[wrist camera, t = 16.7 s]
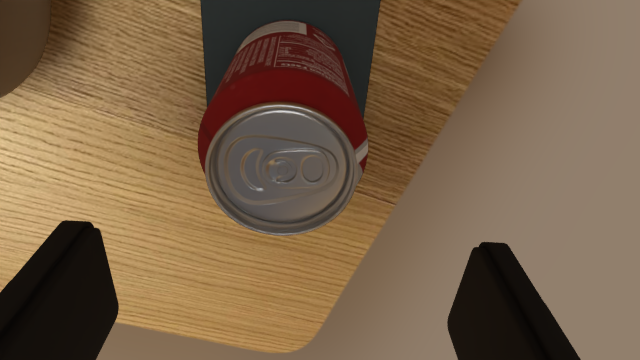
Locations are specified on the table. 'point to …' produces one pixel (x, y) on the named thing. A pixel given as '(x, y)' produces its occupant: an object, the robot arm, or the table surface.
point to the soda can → (283, 132)
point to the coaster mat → (290, 4)
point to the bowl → (21, 39)
